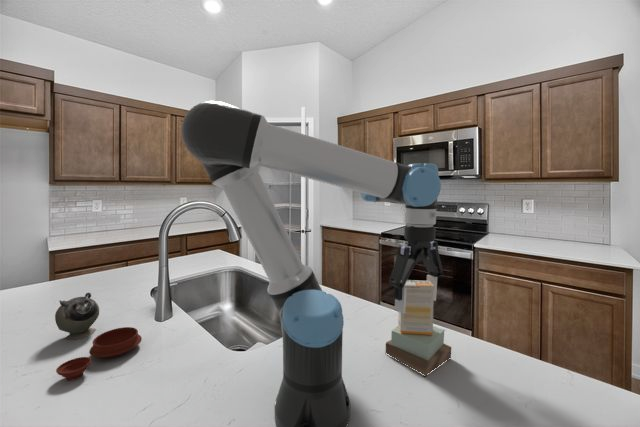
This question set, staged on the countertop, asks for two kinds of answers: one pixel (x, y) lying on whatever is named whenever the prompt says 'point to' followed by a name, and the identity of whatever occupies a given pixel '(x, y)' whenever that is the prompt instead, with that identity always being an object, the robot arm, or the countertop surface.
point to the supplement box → (418, 308)
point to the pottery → (102, 350)
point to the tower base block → (419, 358)
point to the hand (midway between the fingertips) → (416, 305)
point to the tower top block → (418, 342)
